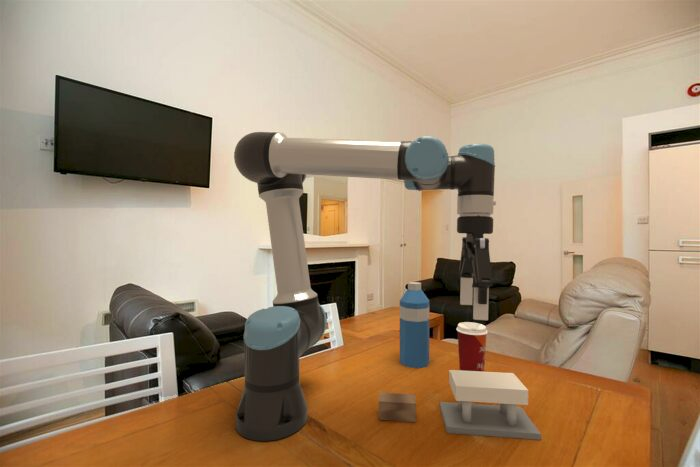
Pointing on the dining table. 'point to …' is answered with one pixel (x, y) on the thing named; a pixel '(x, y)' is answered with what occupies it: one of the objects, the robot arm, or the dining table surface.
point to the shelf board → (487, 387)
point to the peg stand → (488, 420)
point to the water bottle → (414, 327)
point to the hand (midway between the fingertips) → (472, 311)
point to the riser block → (397, 407)
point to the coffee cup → (471, 346)
